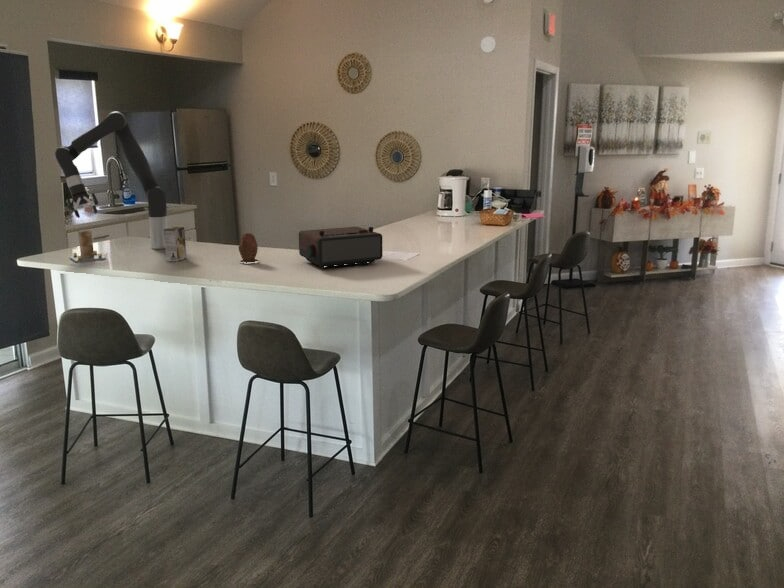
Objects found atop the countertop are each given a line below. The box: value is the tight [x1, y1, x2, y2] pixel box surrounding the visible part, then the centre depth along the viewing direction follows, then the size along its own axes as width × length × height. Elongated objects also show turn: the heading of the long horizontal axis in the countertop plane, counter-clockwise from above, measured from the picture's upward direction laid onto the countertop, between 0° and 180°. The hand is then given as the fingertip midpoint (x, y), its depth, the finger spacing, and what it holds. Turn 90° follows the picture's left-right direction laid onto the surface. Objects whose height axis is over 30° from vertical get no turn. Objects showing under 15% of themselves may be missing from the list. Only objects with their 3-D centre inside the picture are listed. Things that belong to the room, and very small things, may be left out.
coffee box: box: [164, 226, 187, 262], centre depth 337 cm, size 9×6×16 cm
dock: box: [69, 250, 107, 264], centre depth 341 cm, size 14×14×3 cm
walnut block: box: [77, 230, 95, 258], centre depth 340 cm, size 5×5×13 cm
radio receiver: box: [298, 226, 384, 268], centre depth 327 cm, size 35×27×18 cm
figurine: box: [238, 232, 259, 263], centre depth 331 cm, size 9×10×15 cm
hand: (87, 215), depth 351 cm, fingers open, 8 cm apart
